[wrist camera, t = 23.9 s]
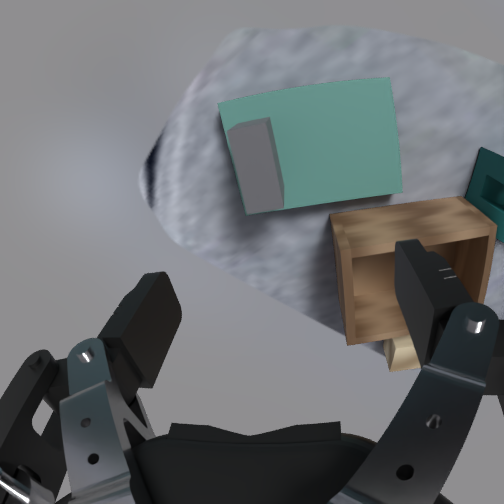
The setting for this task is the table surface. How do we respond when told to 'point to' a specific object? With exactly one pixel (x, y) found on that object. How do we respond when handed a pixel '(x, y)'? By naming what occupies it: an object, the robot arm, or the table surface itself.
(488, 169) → the bracket
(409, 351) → the pale wooden block
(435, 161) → the table surface
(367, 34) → the table surface
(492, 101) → the table surface
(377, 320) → the open wooden box
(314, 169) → the lid
